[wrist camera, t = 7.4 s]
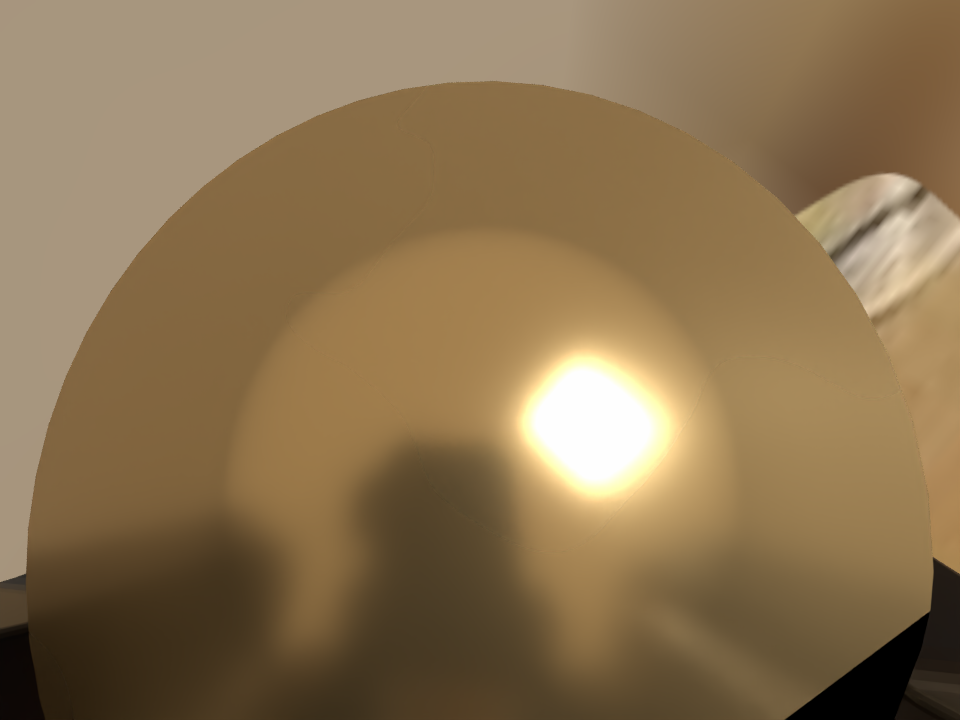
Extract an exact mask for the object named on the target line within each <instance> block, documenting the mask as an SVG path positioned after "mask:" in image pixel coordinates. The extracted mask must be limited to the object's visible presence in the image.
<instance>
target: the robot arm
mask: <svg viewBox="0 0 960 720" xmlns="http://www.w3.org/2000/svg"><path fill="white" fill-rule="evenodd" d="M933 570H934V572H933V584H932V596H931V609H930V614H929V618H928V623H927V627H926V631H925V635H924V640H923V644H922V648H921V651H920V654H919V656H918V659H917V661H916V664H915V667H914V669H913V672H912V674H911V677H910V680H909V682H908V685H907V688H906V690H905V693H904V695H903V698H902V701H901V703H900V706H899V709H898V711H897V714H896V716H895V719H894V720H960V574H959V573H957V572H956V571H954V570H952V569H951V568H949V567H948V566H946V565H945V564H943V563H942V562H940V561H938V560H937V559H935V558H934V557H933ZM0 720H45V716H44V713H43V709H42V706H41V703H40V699H39V693H38V688H37V682H36V676H35V670H34V665H33V659H32V653H31V647H30V642H29V627H28V611H27V594H26V574H24V575H21V576H18V577H16V578H12V579H9V580H6V581H3V582H0Z"/></svg>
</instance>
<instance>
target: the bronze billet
mask: <svg viewBox="0 0 960 720" xmlns="http://www.w3.org/2000/svg"><path fill="white" fill-rule="evenodd" d="M26 569H27V570H26V594H27V611H28V627H29V642H30V647H31V653H32V659H33V665H34V670H35V676H36V682H37V688H38V693H39V699H40V703H41V706H42V709H43V713H44V716H45V720H894V719H895V716H896V714H897V711H898V709H899V706H900V703H901V701H902V698H903V695H904V693H905V690H906V688H907V685H908V682H909V680H910V677H911V674H912V672H913V669H914V667H915V664H916V661H917V659H918V656H919V654H920V651H921V648H922V644H923V640H924V635H925V631H926V627H927V623H928V618H929V614H930V609H931V596H932V584H933V572H934V570H933V555H932V541H931V526H930V511H929V496H928V490H927V485H926V480H925V476H924V471H923V466H922V462H921V457H920V452H919V448H918V443H917V438H916V434H915V429H914V424H913V420H912V417H911V415H910V412H909V409H908V407H907V404H906V401H905V398H904V396H903V393H902V390H901V387H900V385H899V382H898V379H897V376H896V374H895V371H894V368H893V366H892V363H891V360H890V357H889V355H888V353H887V351H886V349H885V347H884V345H883V343H882V341H881V340H880V338H879V336H878V334H877V332H876V330H875V328H874V326H873V324H872V323H871V321H870V319H869V317H868V315H867V313H866V311H865V309H864V307H863V306H862V304H861V302H860V300H859V298H858V296H857V295H856V293H855V292H854V290H853V289H852V288H851V286H850V285H849V283H848V282H847V281H846V279H845V278H844V276H843V275H842V274H841V272H840V271H839V269H838V268H837V267H836V265H835V264H834V262H833V261H832V260H831V258H830V257H829V255H828V254H827V253H826V251H825V250H824V248H823V247H822V246H821V244H820V243H819V242H818V241H817V240H816V239H815V238H814V237H813V235H812V234H811V233H810V232H809V231H808V230H807V229H806V228H805V227H804V226H803V225H802V224H801V223H800V222H799V221H798V220H797V218H796V217H795V216H794V215H793V214H792V213H791V212H790V211H789V210H788V209H787V208H786V207H785V206H784V205H783V204H782V203H781V201H780V200H779V199H778V198H776V197H775V196H774V195H773V194H771V193H770V192H769V191H768V190H767V189H766V188H764V187H763V186H762V185H761V184H759V183H758V182H757V181H756V180H754V179H753V178H752V177H751V176H750V175H748V174H747V173H746V172H745V171H744V170H742V169H741V168H740V167H739V166H737V165H736V164H735V163H734V162H732V161H731V160H729V159H728V158H726V157H724V156H723V155H721V154H720V153H718V152H716V151H715V150H713V149H712V148H710V147H709V146H707V145H705V144H704V143H702V142H701V141H699V140H697V139H696V138H694V137H693V136H691V135H689V134H688V133H686V132H684V131H682V130H680V129H678V128H675V127H673V126H671V125H669V124H667V123H664V122H662V121H660V120H658V119H656V118H654V117H652V116H650V115H647V114H645V113H643V112H641V111H639V110H635V109H632V108H630V107H627V106H624V105H620V104H617V103H614V102H611V101H608V100H605V99H602V98H599V97H596V96H593V95H589V94H585V93H579V92H574V91H569V90H564V89H559V88H554V87H549V86H544V85H535V84H534V85H533V84H522V83H509V82H498V81H487V82H456V83H443V84H436V85H429V86H422V87H415V88H408V89H402V90H398V91H394V92H390V93H386V94H383V95H378V96H374V97H370V98H367V99H363V100H359V101H356V102H353V103H351V104H348V105H345V106H343V107H340V108H337V109H334V110H332V111H329V112H326V113H324V114H321V115H318V116H316V117H314V118H312V119H310V120H308V121H306V122H304V123H302V124H300V125H298V126H296V127H293V128H292V129H289V130H287V131H285V132H284V133H281V134H279V135H277V136H276V137H274V138H272V139H271V140H269V141H268V142H266V143H264V144H263V145H261V146H259V147H258V148H256V149H255V150H253V151H251V152H250V153H248V154H247V155H245V156H243V157H242V158H240V159H239V160H237V161H236V162H235V163H233V164H232V165H231V166H229V167H228V168H227V169H226V170H224V171H223V172H222V173H220V174H219V175H218V176H216V177H215V178H214V179H212V180H211V181H210V182H209V183H207V184H206V185H205V186H204V187H202V188H201V189H200V190H199V191H198V192H197V193H196V194H195V195H194V196H193V197H191V199H189V200H188V201H187V202H186V203H185V204H184V205H183V206H182V207H181V208H180V209H179V210H178V211H177V212H175V213H174V214H173V215H172V216H171V217H170V218H169V219H168V220H167V221H166V223H165V224H164V225H163V226H162V227H161V228H160V229H159V231H158V232H157V233H156V234H155V235H154V236H153V237H152V238H151V240H150V241H149V242H148V243H147V244H146V245H145V246H144V248H143V249H142V250H141V251H140V252H139V253H138V255H137V256H136V257H135V259H134V260H133V261H132V263H131V264H130V266H129V267H128V268H127V270H126V271H125V273H124V274H123V275H122V277H121V278H120V279H119V281H118V282H117V283H116V285H115V287H114V288H113V289H112V290H111V292H110V294H109V295H108V297H107V299H106V301H105V302H104V304H103V305H102V307H101V309H100V311H99V312H98V314H97V316H96V317H95V319H94V321H93V322H92V324H91V326H90V327H89V329H88V331H87V333H86V335H85V337H84V339H83V341H82V343H81V345H80V348H79V350H78V352H77V354H76V356H75V358H74V360H73V362H72V365H71V367H70V369H69V371H68V373H67V375H66V378H65V380H64V383H63V386H62V389H61V392H60V394H59V397H58V400H57V403H56V406H55V408H54V411H53V414H52V417H51V420H50V422H49V426H48V429H47V434H46V438H45V441H44V446H43V449H42V454H41V458H40V462H39V465H38V470H37V474H36V479H35V486H34V493H33V500H32V507H31V513H30V520H29V527H28V547H27V568H26Z"/></svg>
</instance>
